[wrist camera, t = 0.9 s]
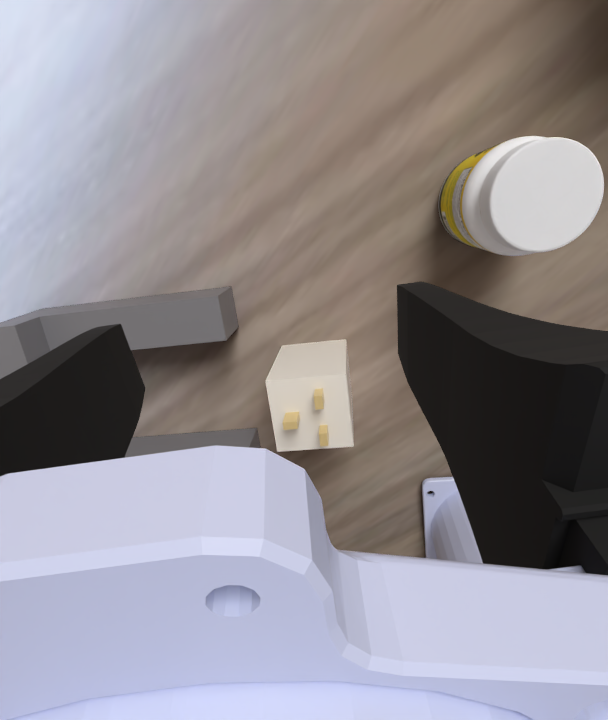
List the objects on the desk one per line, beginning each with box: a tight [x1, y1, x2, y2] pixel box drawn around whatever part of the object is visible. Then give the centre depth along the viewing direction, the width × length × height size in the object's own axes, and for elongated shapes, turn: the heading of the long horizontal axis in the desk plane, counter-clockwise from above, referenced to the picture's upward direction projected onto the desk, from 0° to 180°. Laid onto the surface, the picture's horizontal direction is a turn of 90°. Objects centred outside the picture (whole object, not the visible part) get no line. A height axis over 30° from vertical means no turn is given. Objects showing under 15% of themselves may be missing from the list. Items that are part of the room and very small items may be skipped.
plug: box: [265, 339, 354, 452], centre depth 25 cm, size 4×4×7 cm
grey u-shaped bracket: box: [0, 287, 260, 458], centre depth 27 cm, size 12×12×5 cm
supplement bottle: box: [438, 136, 604, 256], centre depth 20 cm, size 5×5×8 cm
